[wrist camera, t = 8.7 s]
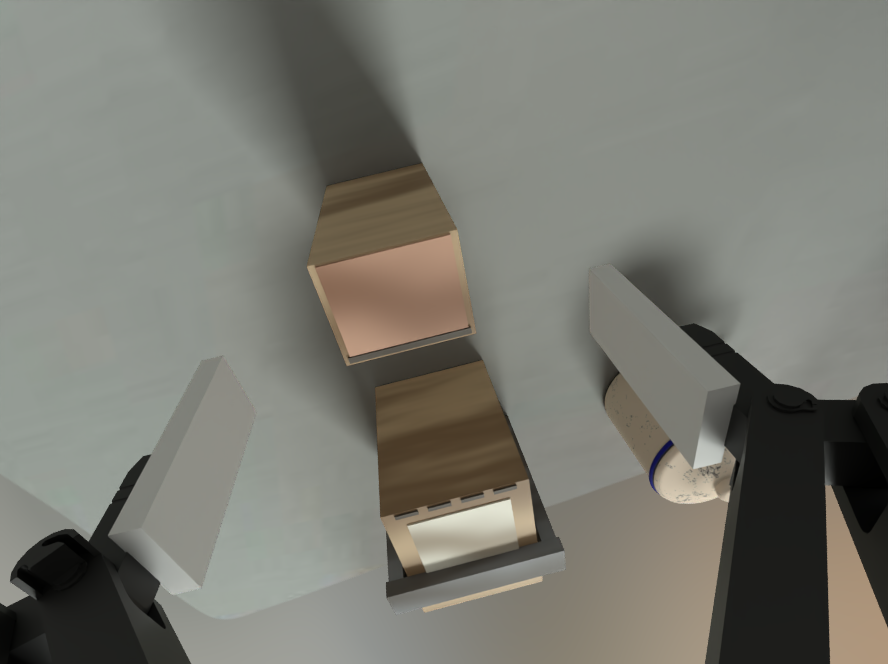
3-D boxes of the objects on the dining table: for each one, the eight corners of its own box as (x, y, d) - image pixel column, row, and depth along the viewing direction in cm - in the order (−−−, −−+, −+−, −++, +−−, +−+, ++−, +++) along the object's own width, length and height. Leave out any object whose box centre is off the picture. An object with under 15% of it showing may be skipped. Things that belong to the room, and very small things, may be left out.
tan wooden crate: (356, 391, 36) (355, 540, 25) (500, 355, 36) (559, 486, 25) (394, 484, 43) (405, 632, 32) (515, 452, 43) (567, 589, 32)
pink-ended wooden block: (326, 186, 27) (306, 267, 17) (422, 162, 27) (457, 230, 17) (351, 259, 30) (346, 367, 20) (438, 238, 30) (477, 334, 20)
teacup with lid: (598, 434, 43) (667, 546, 34) (601, 362, 38) (683, 468, 29) (715, 406, 44) (816, 508, 34) (733, 330, 39) (857, 425, 29)
